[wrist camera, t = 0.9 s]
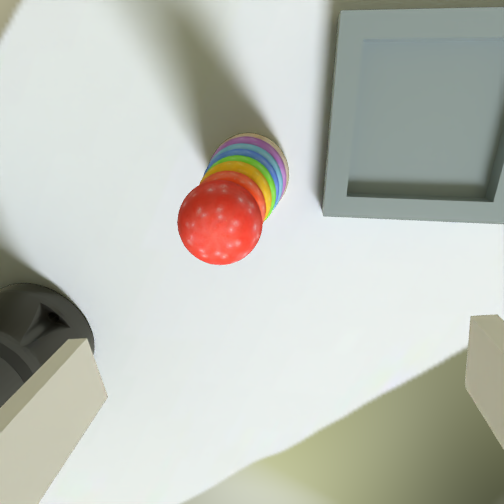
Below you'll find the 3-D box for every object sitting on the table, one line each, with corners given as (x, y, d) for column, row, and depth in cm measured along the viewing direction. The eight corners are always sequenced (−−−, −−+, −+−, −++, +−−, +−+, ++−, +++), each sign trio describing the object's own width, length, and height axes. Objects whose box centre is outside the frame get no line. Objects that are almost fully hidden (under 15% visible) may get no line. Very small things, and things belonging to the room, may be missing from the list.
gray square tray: (322, 210, 37) (323, 216, 35) (338, 17, 31) (340, 10, 29) (498, 217, 35) (511, 224, 33) (555, 12, 29) (574, 5, 27)
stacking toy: (211, 208, 38) (137, 289, 21) (212, 130, 35) (127, 149, 18) (285, 214, 38) (271, 304, 20) (292, 135, 35) (283, 160, 17)
